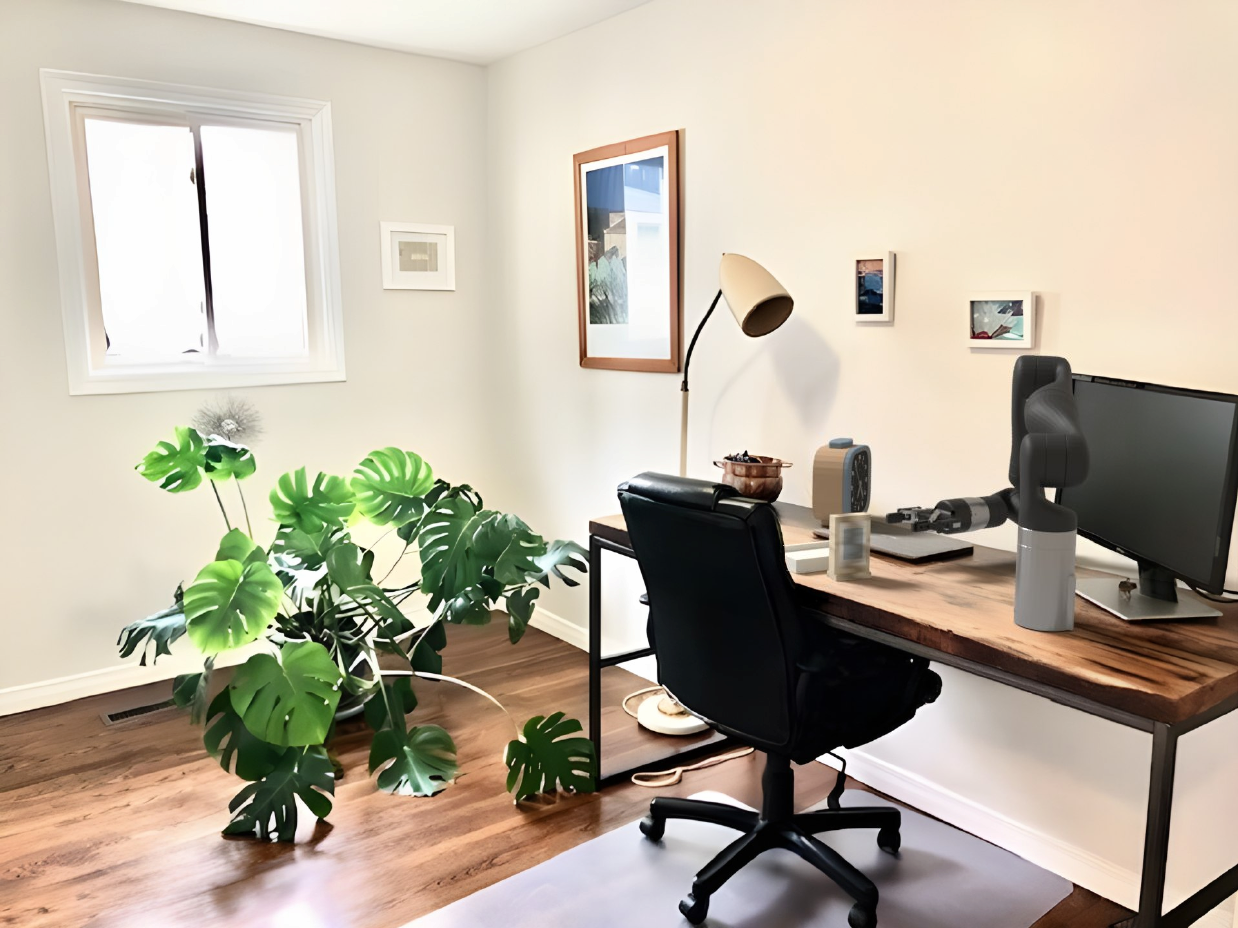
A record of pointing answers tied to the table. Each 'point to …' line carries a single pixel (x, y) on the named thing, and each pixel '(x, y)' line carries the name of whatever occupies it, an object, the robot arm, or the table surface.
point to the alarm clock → (841, 479)
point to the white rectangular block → (807, 557)
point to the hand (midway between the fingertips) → (899, 522)
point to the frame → (849, 546)
